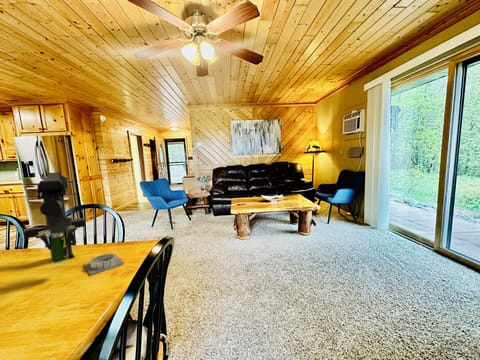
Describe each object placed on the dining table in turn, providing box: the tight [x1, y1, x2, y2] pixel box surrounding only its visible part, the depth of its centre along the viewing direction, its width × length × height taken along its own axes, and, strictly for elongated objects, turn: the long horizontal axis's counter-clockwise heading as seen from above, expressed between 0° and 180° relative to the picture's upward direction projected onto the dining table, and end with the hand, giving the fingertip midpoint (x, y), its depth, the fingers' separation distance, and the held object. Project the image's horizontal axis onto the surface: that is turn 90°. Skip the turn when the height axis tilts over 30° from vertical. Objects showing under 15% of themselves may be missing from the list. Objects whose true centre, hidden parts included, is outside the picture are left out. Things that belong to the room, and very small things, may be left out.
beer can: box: [48, 231, 69, 264], centre depth 86 cm, size 5×5×12 cm
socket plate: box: [83, 256, 125, 277], centre depth 97 cm, size 13×13×1 cm
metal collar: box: [88, 252, 118, 270], centre depth 97 cm, size 10×10×2 cm
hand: (58, 247), depth 87 cm, fingers closed on beer can, 5 cm apart
